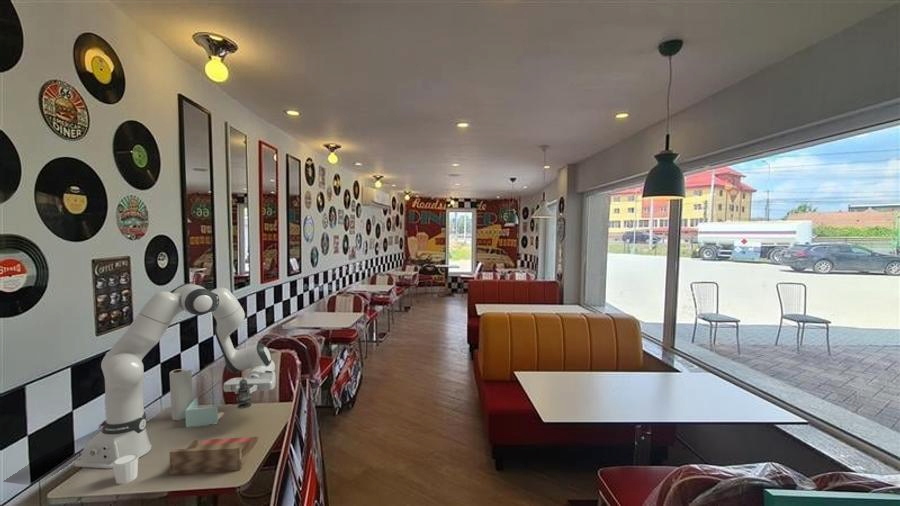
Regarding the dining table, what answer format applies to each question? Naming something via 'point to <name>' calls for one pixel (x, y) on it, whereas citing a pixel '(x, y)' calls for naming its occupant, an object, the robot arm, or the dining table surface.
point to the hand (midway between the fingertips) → (242, 391)
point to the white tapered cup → (125, 468)
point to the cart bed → (212, 455)
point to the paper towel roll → (180, 392)
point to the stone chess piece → (243, 395)
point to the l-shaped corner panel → (200, 415)
